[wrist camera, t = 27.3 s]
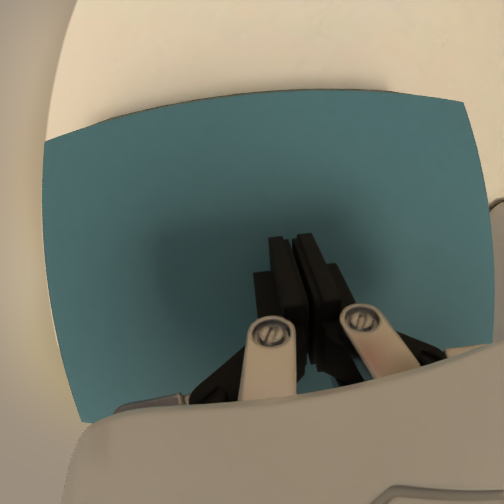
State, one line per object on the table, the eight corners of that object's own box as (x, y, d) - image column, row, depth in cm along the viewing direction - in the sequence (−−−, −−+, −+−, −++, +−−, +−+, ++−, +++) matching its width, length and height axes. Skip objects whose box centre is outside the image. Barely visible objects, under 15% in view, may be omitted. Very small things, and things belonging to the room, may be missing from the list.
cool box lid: (482, 359, 13) (490, 363, 13) (87, 416, 13) (81, 422, 13) (456, 106, 13) (463, 101, 13) (52, 145, 13) (44, 141, 13)
